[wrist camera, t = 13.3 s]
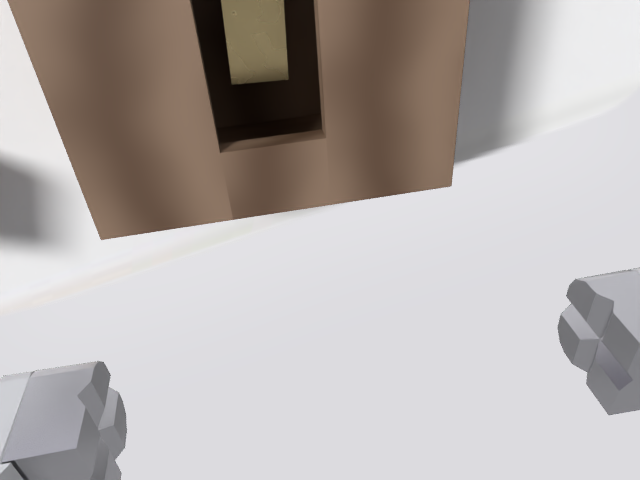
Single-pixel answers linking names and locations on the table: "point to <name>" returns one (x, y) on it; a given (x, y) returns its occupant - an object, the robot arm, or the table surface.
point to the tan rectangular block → (255, 40)
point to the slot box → (246, 106)
